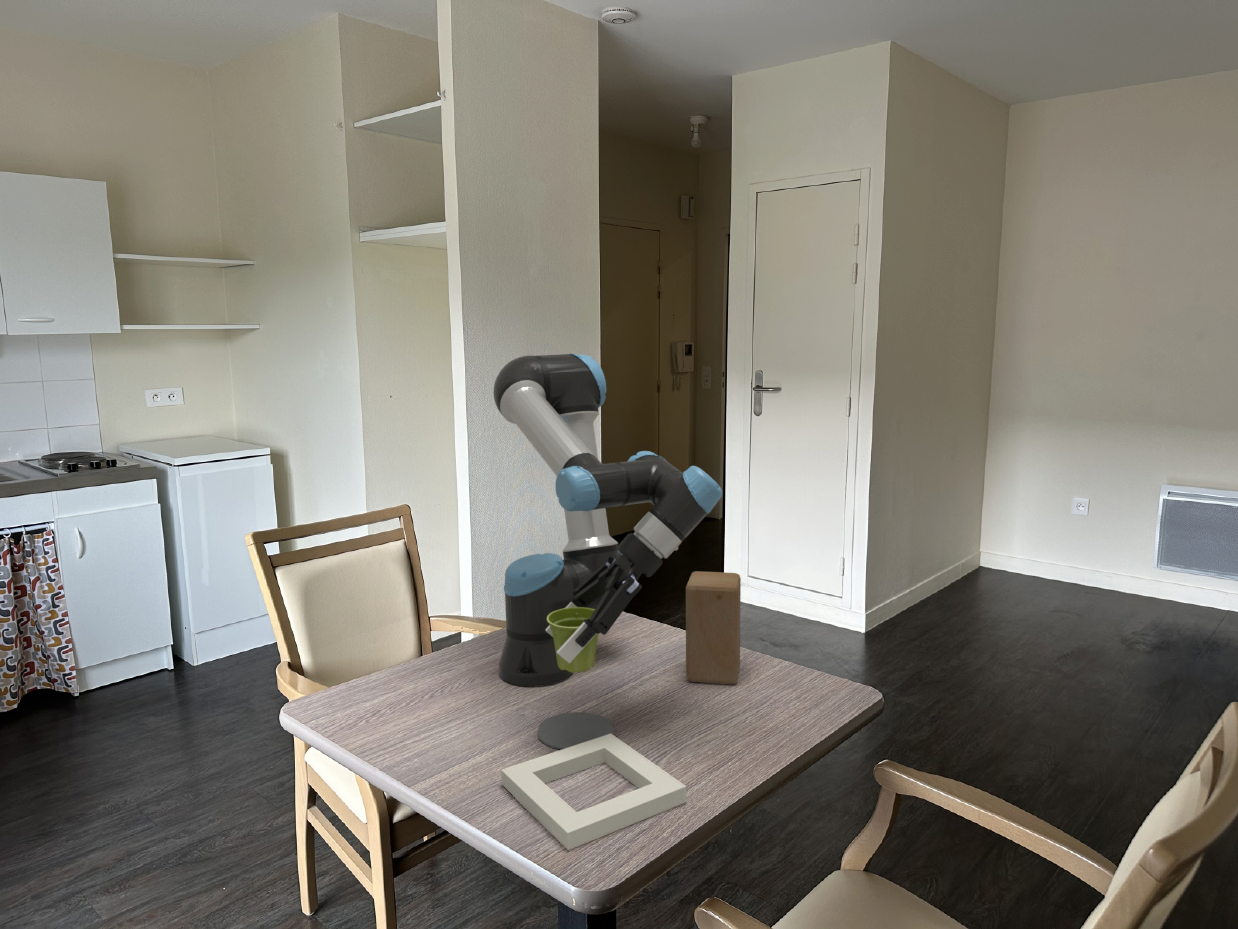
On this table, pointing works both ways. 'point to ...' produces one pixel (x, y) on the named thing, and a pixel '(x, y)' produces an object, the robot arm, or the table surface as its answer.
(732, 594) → the wooden block
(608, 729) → the mat
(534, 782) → the well board
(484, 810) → the table surface
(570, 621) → the plant pot
